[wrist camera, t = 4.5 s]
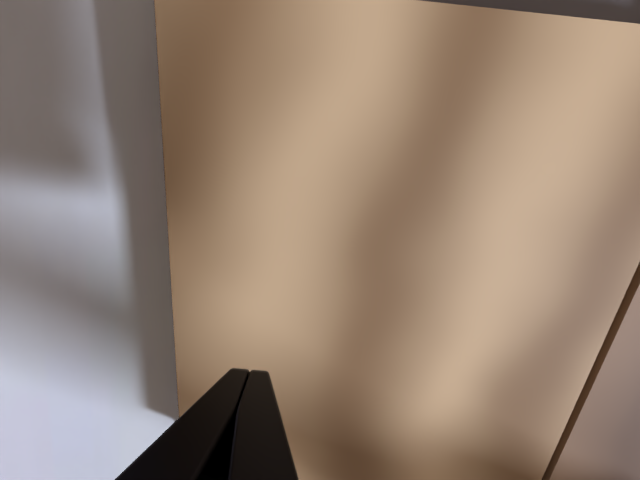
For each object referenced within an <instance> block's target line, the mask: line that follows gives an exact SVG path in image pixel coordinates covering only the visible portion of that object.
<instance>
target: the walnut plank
mask: <svg viewBox="0 0 640 480" xmlns="http://www.w3.org/2000/svg"><path fill="white" fill-rule="evenodd" d="M542 480H640V262H639V264H638V266H637V269H636V271H635V273H634V275H633V277H632V280H631V282H630V284H629V286H628V289H627V291H626V293H625V295H624V297H623V300H622V302H621V304H620V306H619V309H618V311H617V313H616V315H615V317H614V320H613V322H612V324H611V326H610V329H609V331H608V333H607V335H606V337H605V340H604V342H603V344H602V346H601V349H600V351H599V353H598V355H597V357H596V360H595V362H594V364H593V366H592V369H591V371H590V373H589V375H588V377H587V380H586V382H585V384H584V386H583V389H582V391H581V393H580V395H579V397H578V400H577V402H576V404H575V406H574V409H573V411H572V413H571V415H570V417H569V420H568V422H567V424H566V426H565V429H564V431H563V433H562V435H561V437H560V440H559V442H558V444H557V446H556V448H555V451H554V453H553V455H552V457H551V460H550V462H549V464H548V466H547V468H546V471H545V473H544V475H543V477H542Z"/></svg>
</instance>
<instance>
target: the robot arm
mask: <svg viewBox="0 0 640 480" xmlns="http://www.w3.org/2000/svg"><path fill="white" fill-rule="evenodd" d="M115 480H299V478H298V475H297V471H296V468H295V464H294V460H293V457H292V453H291V450H290V446H289V443H288V439H287V435H286V432H285V428H284V425H283V421H282V417H281V414H280V410H279V407H278V403H277V399H276V396H275V392H274V389H273V385H272V381H271V378H270V374H269V372H268V371H264V370H251V371H250V372H249V370H248V369H241V368H232V369H230V370H229V371H228V372H227V373H226V374H224V375H223V376H222V377H221V378H220V379H219V380H218V381H217V382H216V383H215V384H214V385H213V386H212V387H211V388H210V389H209V390H208V391H207V392H206V393H205V394H204V395H203V396H202V397H200V398H199V399H198V400H197V401H196V402H195V403H194V404H193V405H192V406H191V407H190V408H189V409H188V410H187V411H186V412H185V413H184V414H183V415H182V416H181V417H180V418H179V419H178V420H176V421H175V422H174V423H173V424H172V425H171V426H170V427H169V428H168V429H167V430H166V431H165V432H164V433H163V434H162V435H161V436H160V437H159V438H158V439H157V440H156V441H155V442H154V443H152V444H151V445H150V446H149V447H148V448H147V449H146V450H145V451H144V452H143V453H142V454H141V455H140V456H139V457H138V458H137V459H136V460H135V461H134V462H133V463H132V464H131V465H130V466H128V467H127V468H126V469H125V470H124V471H123V472H122V473H121V474H120V475H119V476H118V477H117V478H116V479H115Z"/></svg>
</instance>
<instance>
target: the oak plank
mask: <svg viewBox="0 0 640 480" xmlns="http://www.w3.org/2000/svg"><path fill="white" fill-rule="evenodd" d="M154 5H155V22H156V39H157V56H158V73H159V89H160V106H161V123H162V140H163V157H164V173H165V190H166V207H167V224H168V241H169V258H170V274H171V291H172V308H173V325H174V342H175V358H176V375H177V392H178V409H179V418H180V417H181V416H182V415H183V414H184V413H185V412H186V411H187V410H188V409H189V408H190V407H191V406H192V405H193V404H194V403H195V402H196V401H197V400H198V399H199V398H200V397H202V396H203V395H204V394H205V393H206V392H207V391H208V390H209V389H210V388H211V387H212V386H213V385H214V384H215V383H216V382H217V381H218V380H219V379H220V378H221V377H222V376H223V375H224V374H226V373H227V372H228V371H229V370H230V369H232V368H241V369H248V370H249V372H250V371H251V370H264V371H268V372H269V374H270V378H271V381H272V385H273V389H274V392H275V396H276V399H277V403H278V407H279V410H280V414H281V417H282V421H283V425H284V428H285V432H286V435H287V439H288V443H289V446H290V450H291V453H292V457H293V460H294V464H295V468H296V471H297V475H298V478H299V480H542V477H543V475H544V473H545V471H546V468H547V466H548V464H549V462H550V460H551V457H552V455H553V453H554V451H555V448H556V446H557V444H558V442H559V440H560V437H561V435H562V433H563V431H564V429H565V426H566V424H567V422H568V420H569V417H570V415H571V413H572V411H573V409H574V406H575V404H576V402H577V400H578V397H579V395H580V393H581V391H582V389H583V386H584V384H585V382H586V380H587V377H588V375H589V373H590V371H591V369H592V366H593V364H594V362H595V360H596V357H597V355H598V353H599V351H600V349H601V346H602V344H603V342H604V340H605V337H606V335H607V333H608V331H609V329H610V326H611V324H612V322H613V320H614V317H615V315H616V313H617V311H618V309H619V306H620V304H621V302H622V300H623V297H624V295H625V293H626V291H627V289H628V286H629V284H630V282H631V280H632V277H633V275H634V273H635V271H636V269H637V266H638V264H639V262H640V24H637V23H627V22H618V21H608V20H599V19H589V18H580V17H571V16H561V15H552V14H542V13H533V12H523V11H514V10H504V9H495V8H486V7H476V6H467V5H457V4H448V3H438V2H429V1H420V0H154Z"/></svg>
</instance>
